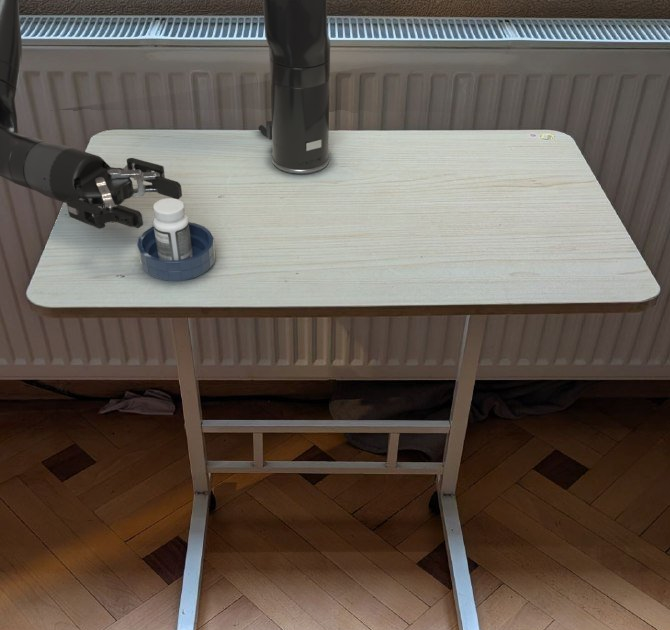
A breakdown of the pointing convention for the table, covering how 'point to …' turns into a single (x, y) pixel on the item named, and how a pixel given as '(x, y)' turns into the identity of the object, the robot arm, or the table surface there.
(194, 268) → the dish
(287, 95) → the robot arm
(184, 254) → the pill bottle
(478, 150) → the table surface
